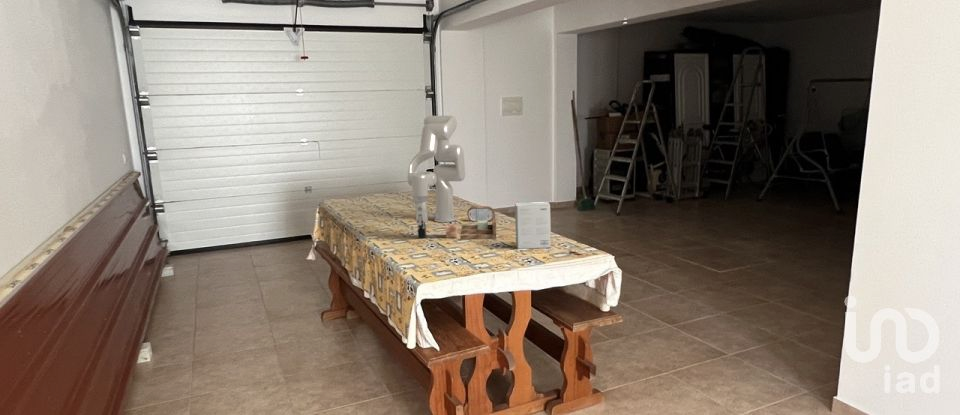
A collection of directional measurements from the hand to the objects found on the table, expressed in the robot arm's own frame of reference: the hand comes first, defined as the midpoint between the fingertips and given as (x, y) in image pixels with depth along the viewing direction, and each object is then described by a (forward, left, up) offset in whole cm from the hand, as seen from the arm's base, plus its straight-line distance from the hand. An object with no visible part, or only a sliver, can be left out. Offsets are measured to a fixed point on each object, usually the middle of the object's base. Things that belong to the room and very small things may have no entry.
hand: (422, 235), depth 290 cm
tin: (+29, +35, -1) cm, 45 cm away
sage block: (+30, +11, -1) cm, 32 cm away
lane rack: (+27, +5, -1) cm, 28 cm away
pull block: (+7, 0, -1) cm, 8 cm away
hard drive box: (+53, -22, -1) cm, 57 cm away
